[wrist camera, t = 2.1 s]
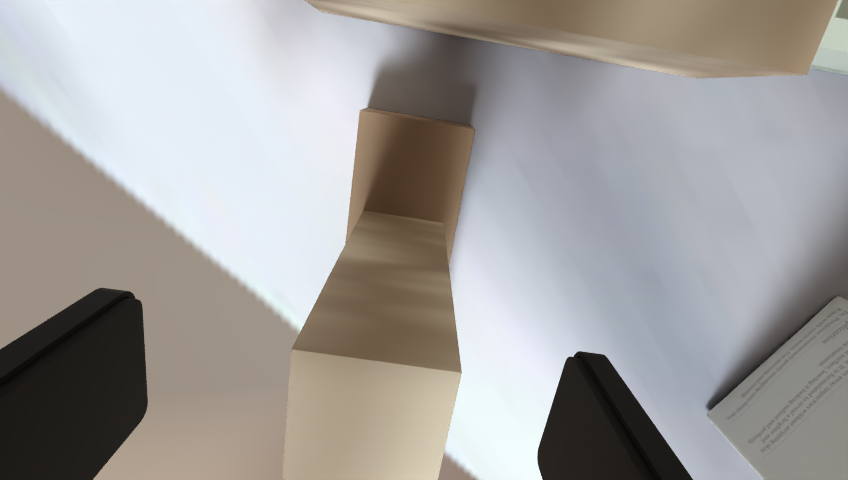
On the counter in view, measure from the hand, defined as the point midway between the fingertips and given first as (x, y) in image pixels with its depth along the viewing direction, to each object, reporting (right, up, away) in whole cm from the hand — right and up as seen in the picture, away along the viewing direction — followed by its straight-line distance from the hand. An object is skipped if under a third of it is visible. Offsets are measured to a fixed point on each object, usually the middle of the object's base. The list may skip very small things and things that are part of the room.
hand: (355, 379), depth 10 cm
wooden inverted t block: (+1, +3, +9) cm, 9 cm away
